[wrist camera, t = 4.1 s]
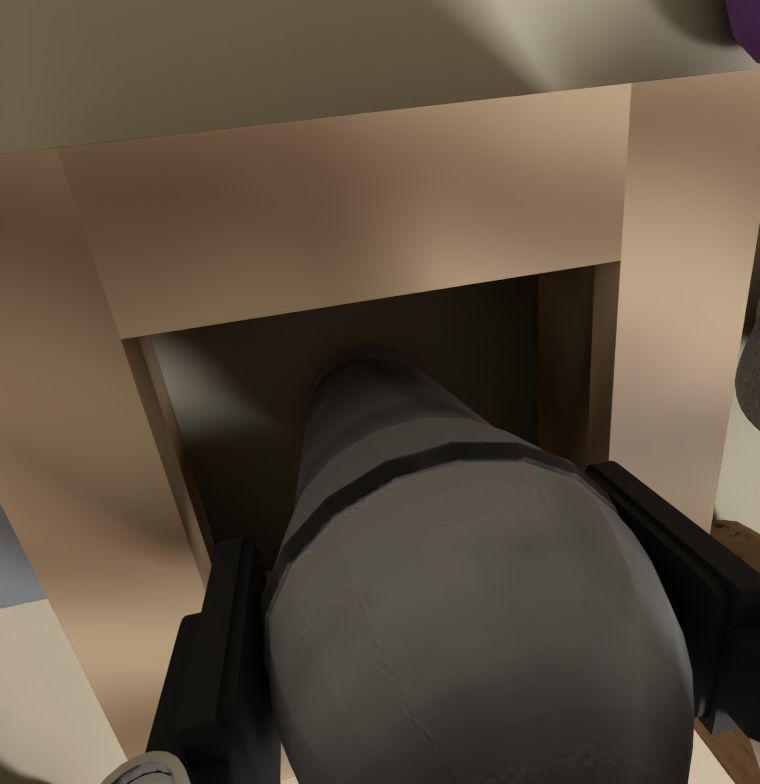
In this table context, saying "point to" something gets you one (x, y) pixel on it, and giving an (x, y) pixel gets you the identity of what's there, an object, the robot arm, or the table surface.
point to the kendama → (746, 25)
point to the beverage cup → (462, 604)
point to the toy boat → (750, 375)
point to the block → (734, 744)
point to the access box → (349, 285)
